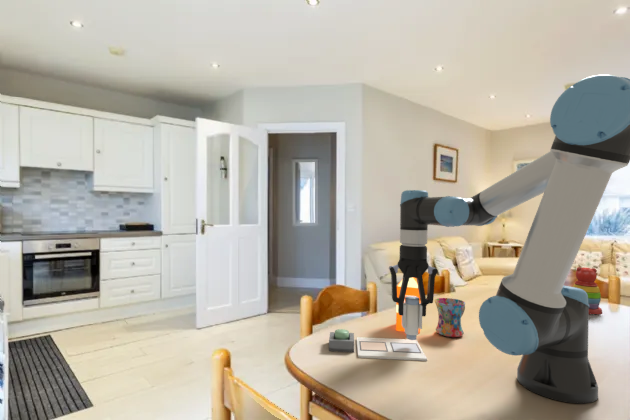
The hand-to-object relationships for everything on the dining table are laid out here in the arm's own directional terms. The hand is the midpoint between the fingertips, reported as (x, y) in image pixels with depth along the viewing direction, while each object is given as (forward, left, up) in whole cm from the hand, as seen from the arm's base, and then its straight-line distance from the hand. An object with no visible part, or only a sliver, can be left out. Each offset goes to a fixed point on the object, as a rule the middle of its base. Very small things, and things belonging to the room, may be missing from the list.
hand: (411, 326), depth 102 cm
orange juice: (+20, -3, -7) cm, 21 cm away
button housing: (0, +20, -7) cm, 21 cm away
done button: (0, +20, -4) cm, 20 cm away
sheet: (0, +6, -7) cm, 9 cm away
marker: (0, 0, -3) cm, 3 cm away
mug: (+16, -16, -7) cm, 23 cm away
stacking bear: (+50, -78, -7) cm, 93 cm away
